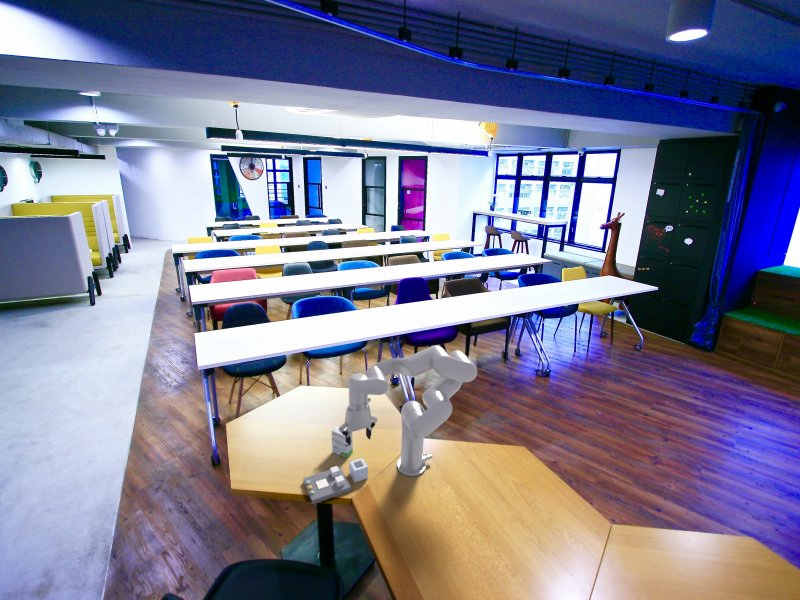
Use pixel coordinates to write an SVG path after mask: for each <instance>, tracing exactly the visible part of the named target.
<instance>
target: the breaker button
mask: <svg viewBox="0 0 800 600" xmlns="http://www.w3.org/2000/svg"><path fill="white" fill-rule="evenodd" d="M315 484H316V487H317V489H318V490H320V489H323V488H326V487H329V484H328V482H327V480H326V478H325V479H322V480H319V481H316V482H315Z"/></svg>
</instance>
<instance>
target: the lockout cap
mask: <svg viewBox="0 0 800 600" xmlns="http://www.w3.org/2000/svg"><path fill="white" fill-rule="evenodd" d="M348 469H349V475H350V477H351V479H352V480H353V482H354V483H358V482H360V481H363V480H366V479H368V478H369V466H368V464H367V463H366V460H365V459H364V458H363V457H361V458H358V459H354V460H351V461H349V468H348Z"/></svg>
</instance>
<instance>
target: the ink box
mask: <svg viewBox="0 0 800 600" xmlns="http://www.w3.org/2000/svg"><path fill="white" fill-rule="evenodd" d="M339 427H340V425H337V426H336V427H334V428H333V429H332V430H331V451H332V453H333V454H336V455H339V456H340V457H343V458H346V459H348V458H349V457H350V456H351V455H352V454H353V453H354V452H353V451H354V450H353V449H354V448H353V447H354V445H353V432H352V433H351V435H350V437H351V445H348V443H346V439H345V435H343V434H342V433H341V432H340V431H339V429H338V428H339ZM346 429H347V428H345V429H344V431H345V430H346ZM348 432H349V431H348Z"/></svg>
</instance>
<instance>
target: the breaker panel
mask: <svg viewBox="0 0 800 600" xmlns="http://www.w3.org/2000/svg"><path fill="white" fill-rule="evenodd" d="M325 478H326V480H327V482H328V484H329V487H326V488H323V489H320V490H318V489H317V487H316V484H315V482H316V481H319V480H322V479H325ZM302 481H303V484H304V486H305V489H306V492H307V493H308V497H309V499H310V502H311V501H312V502H311V504H312V505H315V504H319V503H321V502H323V501H326V500H328V499H332V498H334V497H336V496H340V495H343V494H346V493H349V492H351V491H352V485H351V483H350V482H349V480H348V479H347V476H346V475H345V473H344V471H343V469H342V468H341V466H338V465H335V466H332V467H330V468H329V469H328V470H325V471H322V472H318V473H315V474H313V475H310V476H305V477H303V480H302Z"/></svg>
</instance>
